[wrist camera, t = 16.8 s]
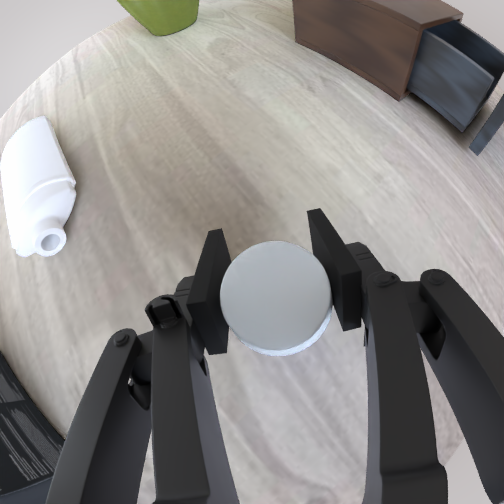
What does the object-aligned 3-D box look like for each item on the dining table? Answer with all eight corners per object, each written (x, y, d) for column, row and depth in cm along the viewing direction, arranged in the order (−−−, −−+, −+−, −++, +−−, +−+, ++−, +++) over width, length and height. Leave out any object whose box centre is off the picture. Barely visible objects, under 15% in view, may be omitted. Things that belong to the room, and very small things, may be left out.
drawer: (537, 153, 17) (569, 116, 10) (519, 206, 16) (567, 164, 9) (417, 48, 23) (428, 1, 16) (370, 71, 22) (380, 10, 15)
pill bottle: (281, 365, 17) (267, 389, 9) (232, 311, 18) (183, 290, 10) (336, 313, 17) (368, 295, 9) (286, 262, 19) (277, 206, 11)
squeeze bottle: (57, 127, 29) (37, 107, 24) (101, 215, 22) (66, 189, 18) (14, 177, 28) (-8, 161, 23) (41, 284, 22) (4, 271, 17)
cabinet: (444, 69, 23) (463, 13, 14) (398, 101, 22) (421, 24, 13) (355, 19, 27) (358, -33, 18) (295, 41, 26) (289, -24, 17)
